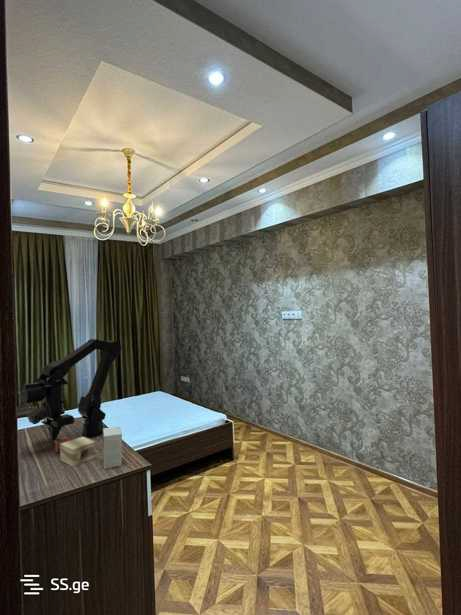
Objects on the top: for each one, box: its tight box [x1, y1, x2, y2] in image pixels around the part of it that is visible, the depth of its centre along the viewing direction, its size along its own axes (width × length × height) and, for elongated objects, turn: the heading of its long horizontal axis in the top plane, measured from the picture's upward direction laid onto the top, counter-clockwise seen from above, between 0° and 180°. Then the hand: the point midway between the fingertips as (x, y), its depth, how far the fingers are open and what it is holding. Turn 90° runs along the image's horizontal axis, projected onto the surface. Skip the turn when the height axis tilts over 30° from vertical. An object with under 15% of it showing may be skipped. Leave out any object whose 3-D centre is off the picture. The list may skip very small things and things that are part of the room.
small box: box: [102, 425, 123, 470], centre depth 106 cm, size 8×6×10 cm
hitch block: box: [59, 436, 97, 467], centre depth 109 cm, size 8×8×6 cm
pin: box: [54, 436, 83, 455], centre depth 112 cm, size 4×12×4 cm, turn 55°
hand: (53, 440), depth 119 cm, fingers closed
